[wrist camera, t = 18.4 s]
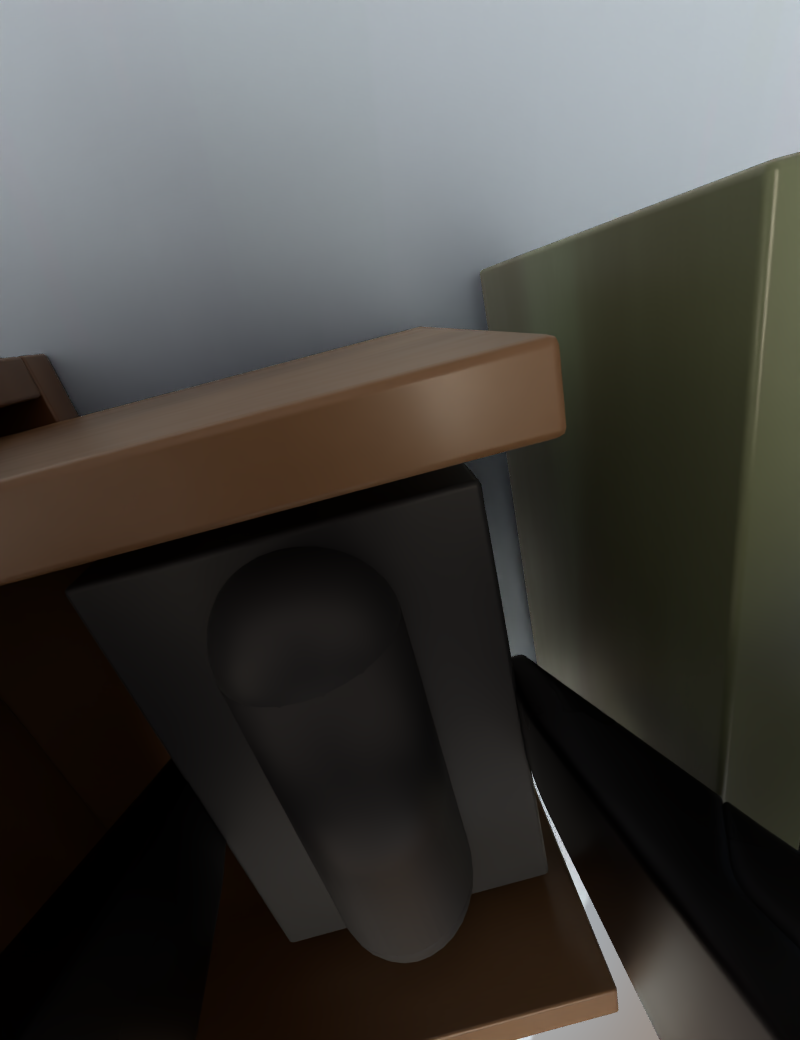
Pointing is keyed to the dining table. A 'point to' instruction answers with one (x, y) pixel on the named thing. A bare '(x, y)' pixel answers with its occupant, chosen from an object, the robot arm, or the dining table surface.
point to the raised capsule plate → (338, 703)
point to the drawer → (546, 564)
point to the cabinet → (31, 394)
